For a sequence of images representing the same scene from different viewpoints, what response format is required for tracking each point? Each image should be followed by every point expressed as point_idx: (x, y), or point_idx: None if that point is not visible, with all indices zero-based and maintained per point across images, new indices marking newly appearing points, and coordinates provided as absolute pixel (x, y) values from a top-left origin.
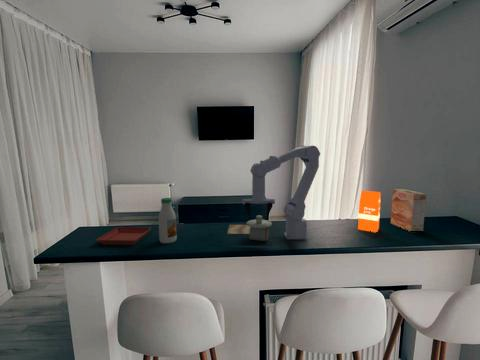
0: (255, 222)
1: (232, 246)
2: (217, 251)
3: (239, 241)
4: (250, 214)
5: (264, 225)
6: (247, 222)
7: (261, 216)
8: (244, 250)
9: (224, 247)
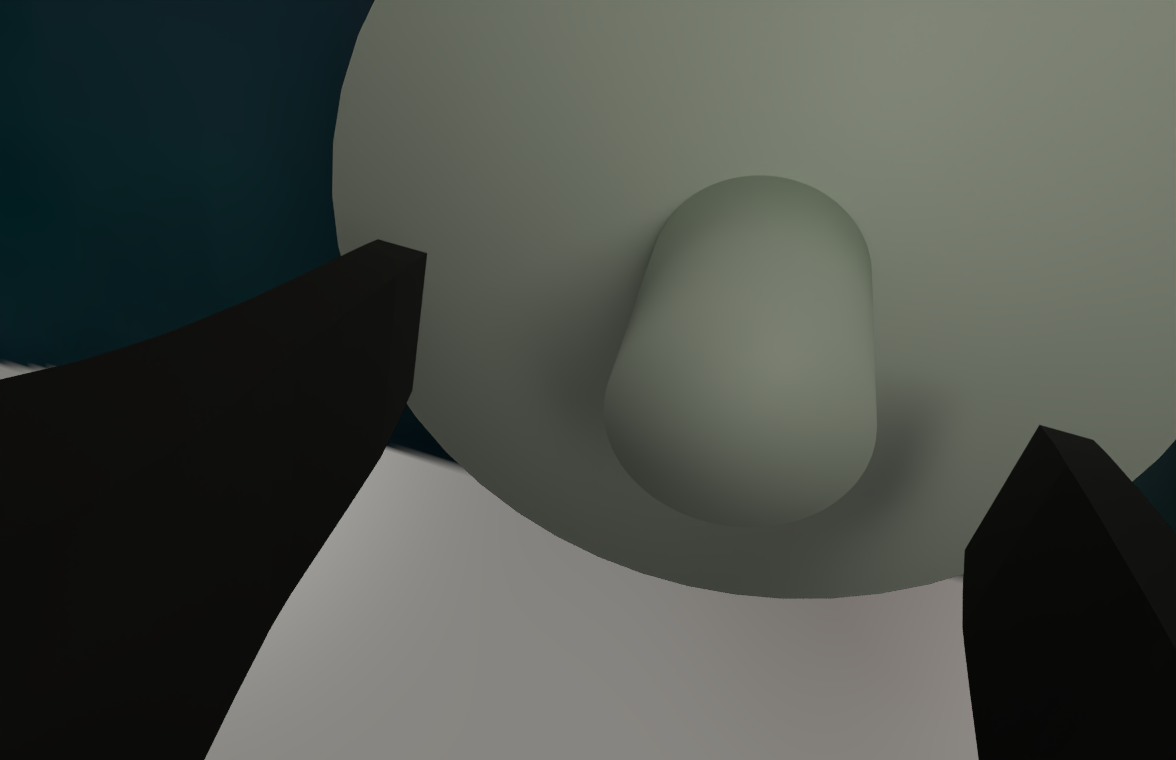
0: (646, 191)
1: (219, 261)
2: (27, 367)
3: (339, 60)
4: (303, 561)
5: (836, 519)
6: (364, 116)
7: (824, 478)
8: (411, 446)
9: (95, 263)
